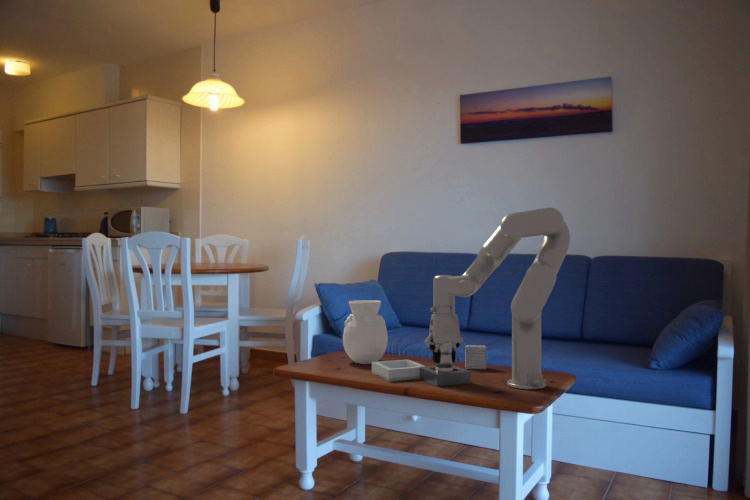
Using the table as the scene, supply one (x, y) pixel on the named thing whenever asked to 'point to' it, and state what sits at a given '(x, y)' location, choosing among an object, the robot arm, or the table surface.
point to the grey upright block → (475, 357)
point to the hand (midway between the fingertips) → (444, 361)
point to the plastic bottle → (445, 356)
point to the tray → (397, 370)
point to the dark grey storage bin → (445, 376)
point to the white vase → (365, 332)
